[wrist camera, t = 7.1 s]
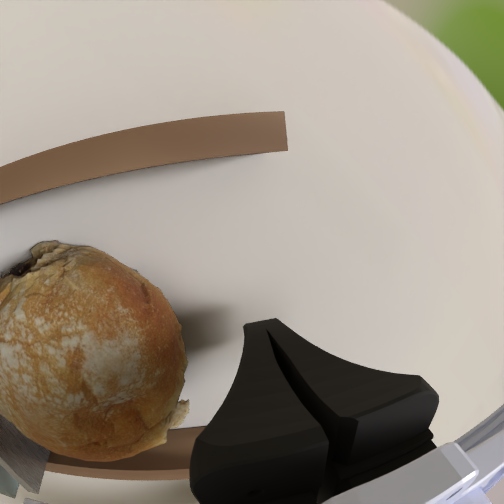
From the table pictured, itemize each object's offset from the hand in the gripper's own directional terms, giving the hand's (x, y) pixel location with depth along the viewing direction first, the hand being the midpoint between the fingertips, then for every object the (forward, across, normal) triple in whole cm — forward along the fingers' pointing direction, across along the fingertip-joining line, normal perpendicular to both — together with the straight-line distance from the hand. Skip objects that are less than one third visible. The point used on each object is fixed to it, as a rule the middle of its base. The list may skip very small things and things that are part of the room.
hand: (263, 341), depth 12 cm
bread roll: (+2, +8, 0) cm, 8 cm away
